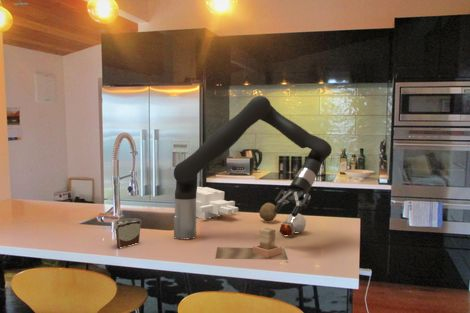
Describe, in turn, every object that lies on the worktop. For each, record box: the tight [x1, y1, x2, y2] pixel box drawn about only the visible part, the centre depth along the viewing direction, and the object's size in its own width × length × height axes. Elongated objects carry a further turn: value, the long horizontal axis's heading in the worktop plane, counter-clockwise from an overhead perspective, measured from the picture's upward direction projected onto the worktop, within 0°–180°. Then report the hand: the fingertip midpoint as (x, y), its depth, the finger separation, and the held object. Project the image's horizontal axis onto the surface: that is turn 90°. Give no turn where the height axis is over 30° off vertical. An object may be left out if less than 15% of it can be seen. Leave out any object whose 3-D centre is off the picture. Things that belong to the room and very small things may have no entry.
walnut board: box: [215, 246, 289, 261], centre depth 161 cm, size 26×14×2 cm, turn 89°
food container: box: [113, 218, 143, 249], centre depth 175 cm, size 12×6×10 cm, turn 141°
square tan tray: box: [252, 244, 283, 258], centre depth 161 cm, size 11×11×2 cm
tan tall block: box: [259, 227, 276, 250], centre depth 160 cm, size 4×4×9 cm
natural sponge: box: [259, 202, 277, 222], centre depth 218 cm, size 9×9×10 cm
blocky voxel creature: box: [196, 186, 239, 219], centre depth 228 cm, size 15×25×28 cm
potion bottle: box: [278, 213, 307, 237], centre depth 195 cm, size 9×10×15 cm
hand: (284, 213), depth 166 cm, fingers open, 8 cm apart
